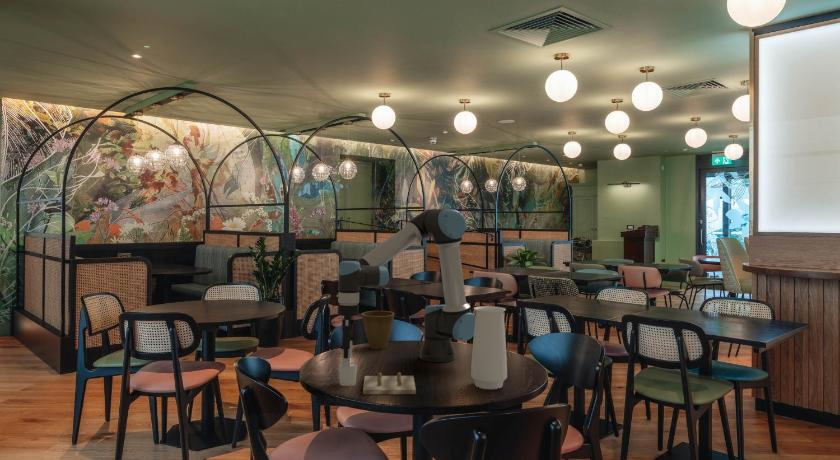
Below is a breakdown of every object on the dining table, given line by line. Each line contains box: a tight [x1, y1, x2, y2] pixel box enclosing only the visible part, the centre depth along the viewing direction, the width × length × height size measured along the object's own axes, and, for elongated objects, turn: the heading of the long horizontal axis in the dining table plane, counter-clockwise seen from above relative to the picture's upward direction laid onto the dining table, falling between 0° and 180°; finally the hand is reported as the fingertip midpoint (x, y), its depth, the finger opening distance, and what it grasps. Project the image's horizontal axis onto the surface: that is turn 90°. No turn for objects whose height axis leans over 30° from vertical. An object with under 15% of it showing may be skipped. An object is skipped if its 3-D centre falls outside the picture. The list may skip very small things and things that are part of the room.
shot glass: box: [338, 362, 358, 387], centre depth 215 cm, size 7×7×7 cm
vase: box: [470, 305, 508, 390], centre depth 215 cm, size 13×13×28 cm
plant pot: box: [361, 310, 395, 350], centre depth 276 cm, size 15×15×16 cm
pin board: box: [362, 372, 417, 395], centre depth 212 cm, size 18×18×4 cm
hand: (347, 362), depth 215 cm, fingers open, 13 cm apart
